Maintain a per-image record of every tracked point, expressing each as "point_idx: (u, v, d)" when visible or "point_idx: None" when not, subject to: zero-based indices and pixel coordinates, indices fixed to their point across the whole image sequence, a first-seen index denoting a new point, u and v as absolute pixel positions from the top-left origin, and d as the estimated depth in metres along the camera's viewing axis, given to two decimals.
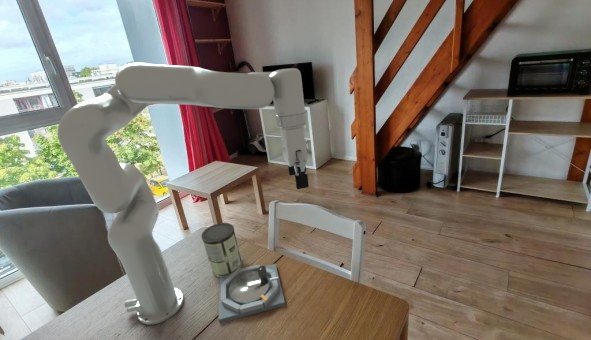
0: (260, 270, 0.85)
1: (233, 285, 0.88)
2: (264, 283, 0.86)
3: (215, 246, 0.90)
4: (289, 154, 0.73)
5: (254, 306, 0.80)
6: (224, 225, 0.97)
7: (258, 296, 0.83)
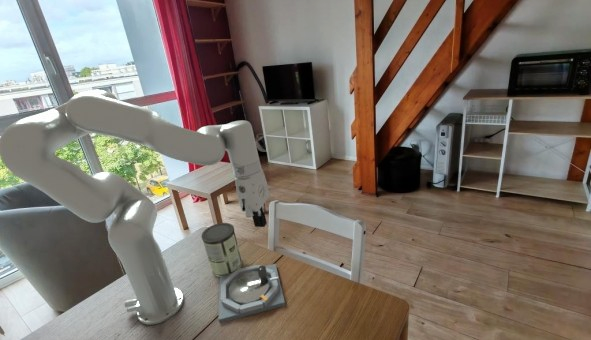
0: (260, 270, 0.85)
1: (233, 285, 0.88)
2: (264, 283, 0.86)
3: (215, 246, 0.90)
4: None
5: (254, 306, 0.80)
6: (224, 225, 0.97)
7: (258, 296, 0.83)
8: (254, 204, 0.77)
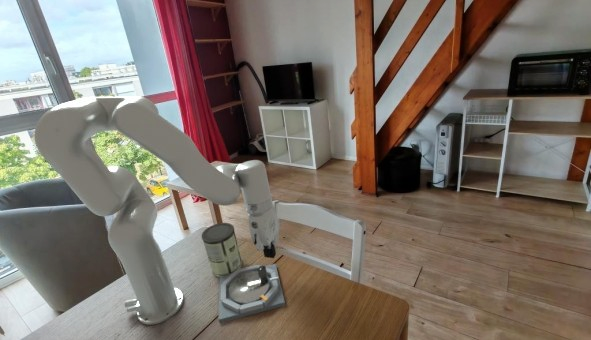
0: (260, 270, 0.85)
1: (233, 285, 0.88)
2: (264, 283, 0.86)
3: (215, 245, 0.90)
4: None
5: (254, 306, 0.80)
6: (224, 225, 0.98)
7: (258, 296, 0.83)
8: (265, 239, 0.81)
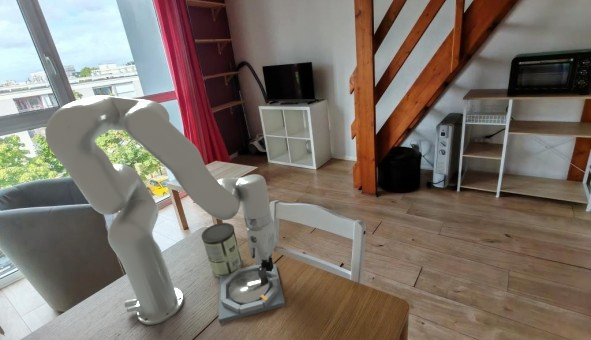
0: (260, 270, 0.85)
1: (233, 285, 0.88)
2: (264, 283, 0.86)
3: (215, 246, 0.90)
4: None
5: (254, 306, 0.80)
6: (224, 225, 0.97)
7: (258, 296, 0.83)
8: (264, 253, 0.81)
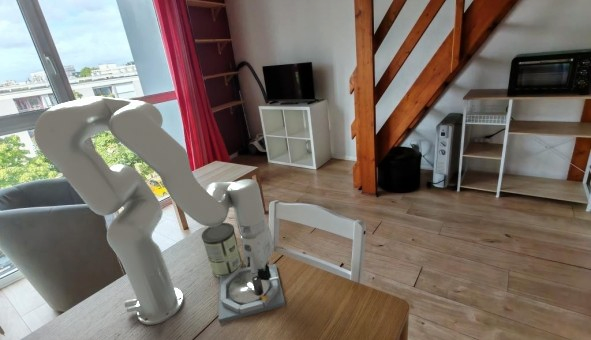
0: (253, 279, 0.82)
1: (243, 275, 0.91)
2: (255, 293, 0.83)
3: (215, 245, 0.90)
4: None
5: (254, 306, 0.80)
6: (224, 225, 0.98)
7: (240, 300, 0.82)
8: (259, 262, 0.77)
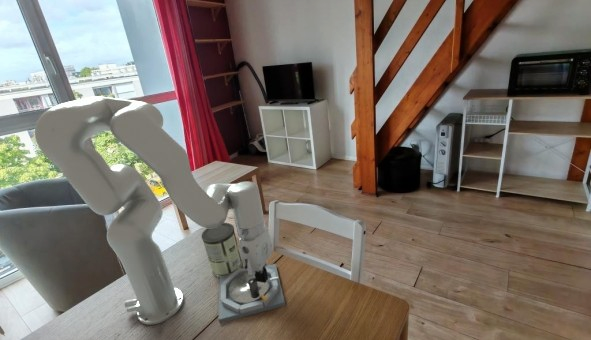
0: (249, 281, 0.81)
1: None
2: (251, 295, 0.82)
3: (215, 245, 0.90)
4: None
5: (254, 306, 0.80)
6: (224, 225, 0.97)
7: (235, 298, 0.83)
8: (257, 265, 0.77)
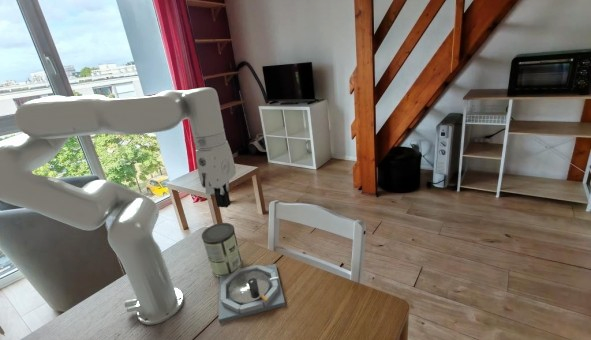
0: (249, 281, 0.81)
1: (248, 274, 0.91)
2: (251, 295, 0.82)
3: (215, 246, 0.90)
4: None
5: (254, 306, 0.80)
6: (224, 225, 0.97)
7: (235, 298, 0.83)
8: (215, 180, 0.71)
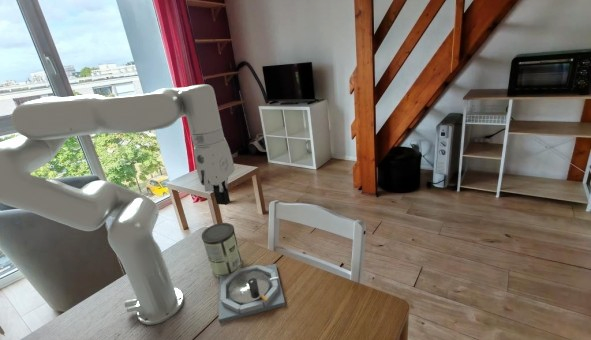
0: (249, 281, 0.81)
1: (248, 274, 0.91)
2: (251, 295, 0.82)
3: (215, 246, 0.90)
4: None
5: (254, 306, 0.80)
6: (224, 225, 0.97)
7: (235, 298, 0.83)
8: (213, 177, 0.70)
